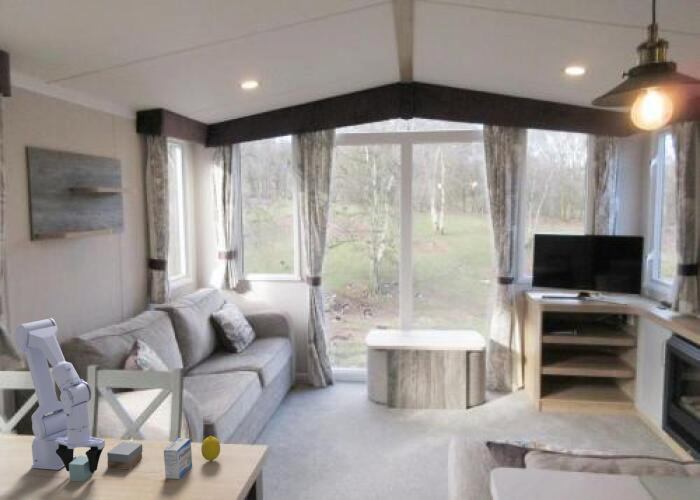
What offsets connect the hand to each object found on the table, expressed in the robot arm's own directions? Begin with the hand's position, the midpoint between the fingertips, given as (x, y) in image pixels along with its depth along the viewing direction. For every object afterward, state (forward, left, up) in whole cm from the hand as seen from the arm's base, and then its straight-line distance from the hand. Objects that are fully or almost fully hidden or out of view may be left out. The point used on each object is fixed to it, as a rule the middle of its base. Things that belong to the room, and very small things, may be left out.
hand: (81, 470), depth 153 cm
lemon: (+34, +13, -2) cm, 36 cm away
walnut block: (+8, +9, -3) cm, 12 cm away
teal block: (0, 0, -2) cm, 2 cm away
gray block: (+8, +9, 0) cm, 12 cm away
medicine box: (+27, +6, -2) cm, 28 cm away
